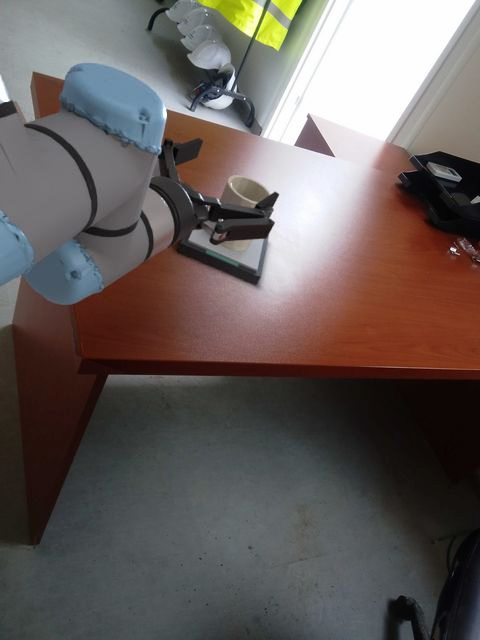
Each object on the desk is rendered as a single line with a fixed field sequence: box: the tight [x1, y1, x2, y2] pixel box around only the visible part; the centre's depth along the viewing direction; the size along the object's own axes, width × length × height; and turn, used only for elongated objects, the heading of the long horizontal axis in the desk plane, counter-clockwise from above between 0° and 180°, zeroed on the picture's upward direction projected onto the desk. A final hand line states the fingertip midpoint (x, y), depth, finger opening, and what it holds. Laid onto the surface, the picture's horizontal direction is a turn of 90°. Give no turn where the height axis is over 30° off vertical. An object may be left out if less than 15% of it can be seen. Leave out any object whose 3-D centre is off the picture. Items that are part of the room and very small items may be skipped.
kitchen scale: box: [177, 206, 270, 286], centre depth 85 cm, size 15×15×2 cm
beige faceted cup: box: [219, 174, 272, 251], centre depth 81 cm, size 8×8×10 cm
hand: (235, 174), depth 67 cm, fingers open, 13 cm apart
